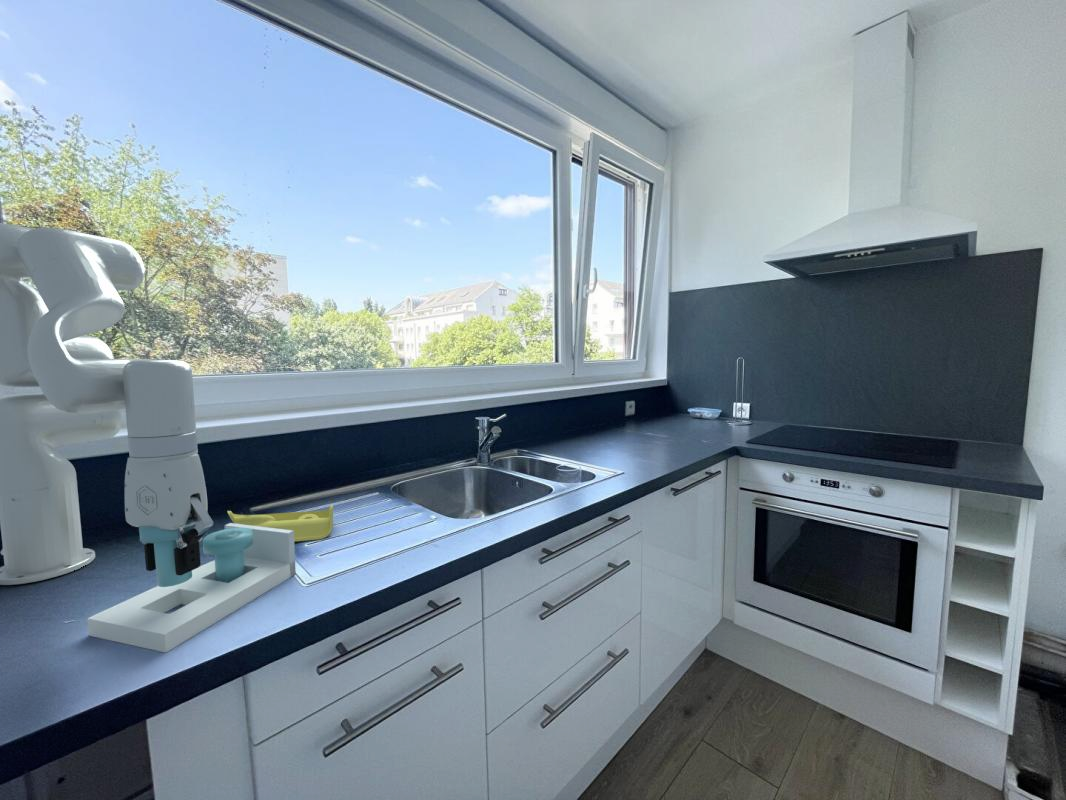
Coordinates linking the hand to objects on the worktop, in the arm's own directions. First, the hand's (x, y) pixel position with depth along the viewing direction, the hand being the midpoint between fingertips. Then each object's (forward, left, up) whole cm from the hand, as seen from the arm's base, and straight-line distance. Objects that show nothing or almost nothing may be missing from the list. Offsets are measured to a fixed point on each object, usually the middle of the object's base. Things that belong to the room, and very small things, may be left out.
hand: (173, 567), depth 65 cm
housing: (0, +5, -8) cm, 9 cm away
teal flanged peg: (0, +9, -8) cm, 12 cm away
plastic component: (-10, +30, -8) cm, 33 cm away
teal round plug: (0, 0, -2) cm, 2 cm away
